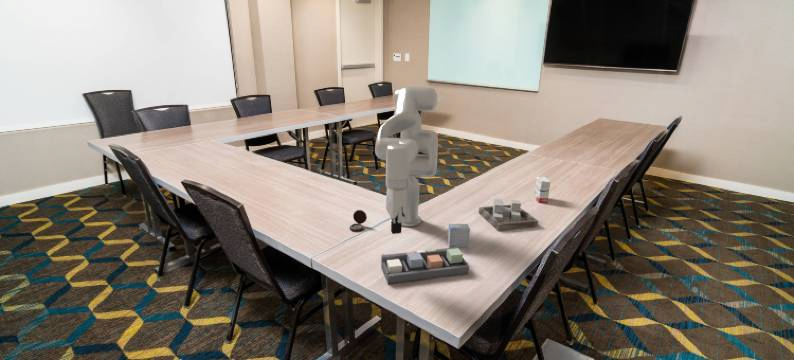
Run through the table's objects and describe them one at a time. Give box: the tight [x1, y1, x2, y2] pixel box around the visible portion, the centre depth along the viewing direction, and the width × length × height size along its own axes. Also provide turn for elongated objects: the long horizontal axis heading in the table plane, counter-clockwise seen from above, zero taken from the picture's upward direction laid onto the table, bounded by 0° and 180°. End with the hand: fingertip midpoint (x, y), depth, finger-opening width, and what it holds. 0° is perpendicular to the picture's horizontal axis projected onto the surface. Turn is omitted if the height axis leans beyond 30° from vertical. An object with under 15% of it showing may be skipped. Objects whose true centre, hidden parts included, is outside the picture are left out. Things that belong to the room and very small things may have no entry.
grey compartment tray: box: [380, 247, 470, 285], centre depth 143 cm, size 11×30×5 cm, turn 104°
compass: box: [349, 209, 368, 233], centre depth 174 cm, size 8×8×7 cm
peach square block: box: [427, 255, 443, 269], centre depth 144 cm, size 4×4×3 cm
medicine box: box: [447, 223, 471, 248], centre depth 162 cm, size 8×4×9 cm, turn 92°
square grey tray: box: [478, 204, 539, 232], centre depth 187 cm, size 20×20×3 cm
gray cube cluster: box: [491, 198, 522, 223], centre depth 186 cm, size 12×12×8 cm
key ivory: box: [387, 259, 402, 274], centre depth 141 cm, size 4×4×3 cm
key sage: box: [446, 247, 464, 263], centre depth 145 cm, size 4×4×3 cm
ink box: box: [533, 176, 551, 204], centre depth 210 cm, size 9×5×12 cm, turn 179°
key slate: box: [407, 253, 423, 268], centre depth 142 cm, size 4×4×3 cm
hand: (396, 232), depth 136 cm, fingers closed
